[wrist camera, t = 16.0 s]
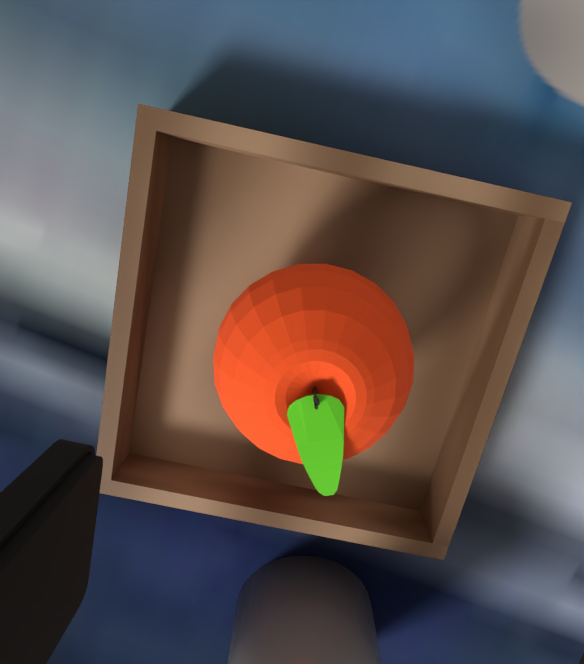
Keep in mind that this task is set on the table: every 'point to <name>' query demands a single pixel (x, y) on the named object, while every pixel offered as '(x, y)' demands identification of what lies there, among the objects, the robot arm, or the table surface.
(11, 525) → the robot arm
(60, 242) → the table surface
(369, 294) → the clementine
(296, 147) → the walnut tray
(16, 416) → the table surface
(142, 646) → the table surface
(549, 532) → the table surface
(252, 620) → the grey rounded cylinder
